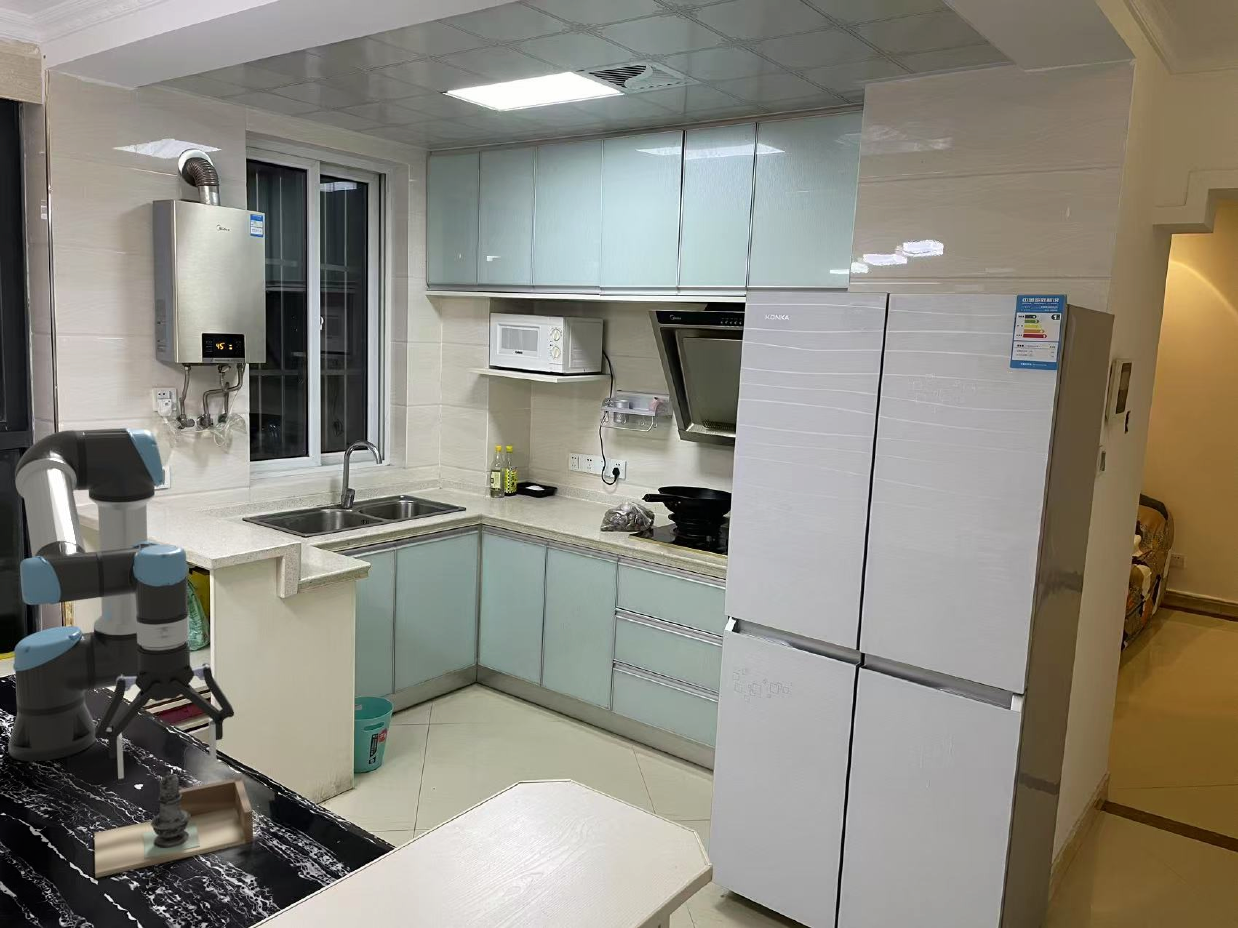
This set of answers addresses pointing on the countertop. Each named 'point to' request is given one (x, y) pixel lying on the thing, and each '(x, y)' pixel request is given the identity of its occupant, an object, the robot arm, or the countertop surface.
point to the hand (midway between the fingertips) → (167, 766)
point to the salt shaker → (170, 815)
